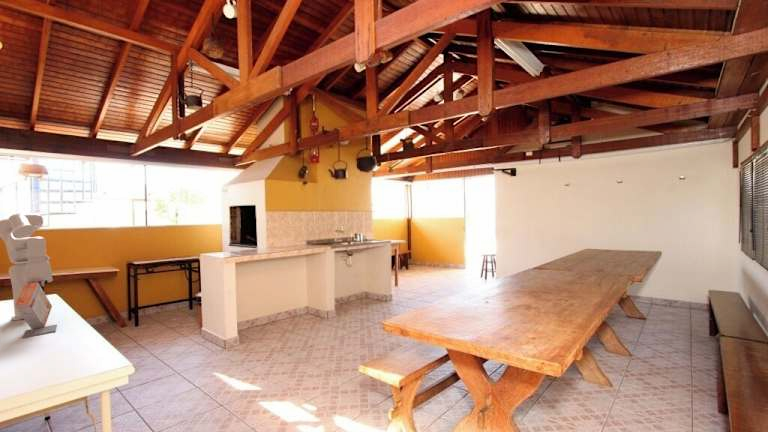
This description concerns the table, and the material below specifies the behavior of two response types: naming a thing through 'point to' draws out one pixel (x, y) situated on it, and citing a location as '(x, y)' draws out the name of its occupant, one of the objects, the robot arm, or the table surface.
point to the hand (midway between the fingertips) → (40, 293)
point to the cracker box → (34, 305)
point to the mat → (39, 331)
